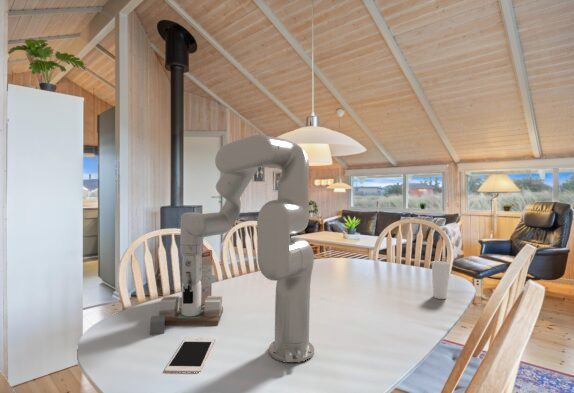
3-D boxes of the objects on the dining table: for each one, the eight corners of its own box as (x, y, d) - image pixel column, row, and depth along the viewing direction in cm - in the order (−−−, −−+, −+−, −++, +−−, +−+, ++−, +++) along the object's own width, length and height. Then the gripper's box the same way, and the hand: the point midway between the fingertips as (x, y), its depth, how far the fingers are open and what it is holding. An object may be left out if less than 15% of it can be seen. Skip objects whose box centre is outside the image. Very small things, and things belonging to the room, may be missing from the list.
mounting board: (217, 325, 111) (218, 305, 111) (155, 325, 110) (155, 305, 109) (222, 311, 123) (223, 293, 123) (166, 311, 122) (167, 293, 121)
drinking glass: (430, 298, 142) (431, 263, 141) (431, 294, 148) (432, 260, 147) (448, 301, 139) (449, 265, 138) (448, 296, 145) (450, 261, 144)
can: (181, 318, 112) (181, 282, 112) (181, 311, 118) (181, 277, 118) (201, 316, 114) (201, 280, 113) (200, 309, 120) (201, 275, 120)
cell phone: (215, 340, 101) (215, 337, 101) (200, 374, 83) (200, 370, 83) (185, 340, 101) (185, 337, 101) (163, 374, 83) (163, 370, 83)
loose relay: (164, 333, 104) (164, 320, 104) (150, 335, 103) (150, 322, 103) (164, 327, 109) (164, 314, 109) (151, 328, 108) (151, 316, 107)
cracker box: (212, 303, 131) (213, 249, 130) (198, 306, 127) (198, 251, 126) (194, 294, 141) (195, 244, 141) (181, 297, 137) (181, 246, 136)
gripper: (197, 254, 107) (197, 307, 108) (207, 244, 124) (207, 290, 125) (173, 253, 107) (173, 307, 107) (186, 244, 124) (186, 290, 124)
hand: (191, 298), depth 116 cm, fingers open, 9 cm apart
